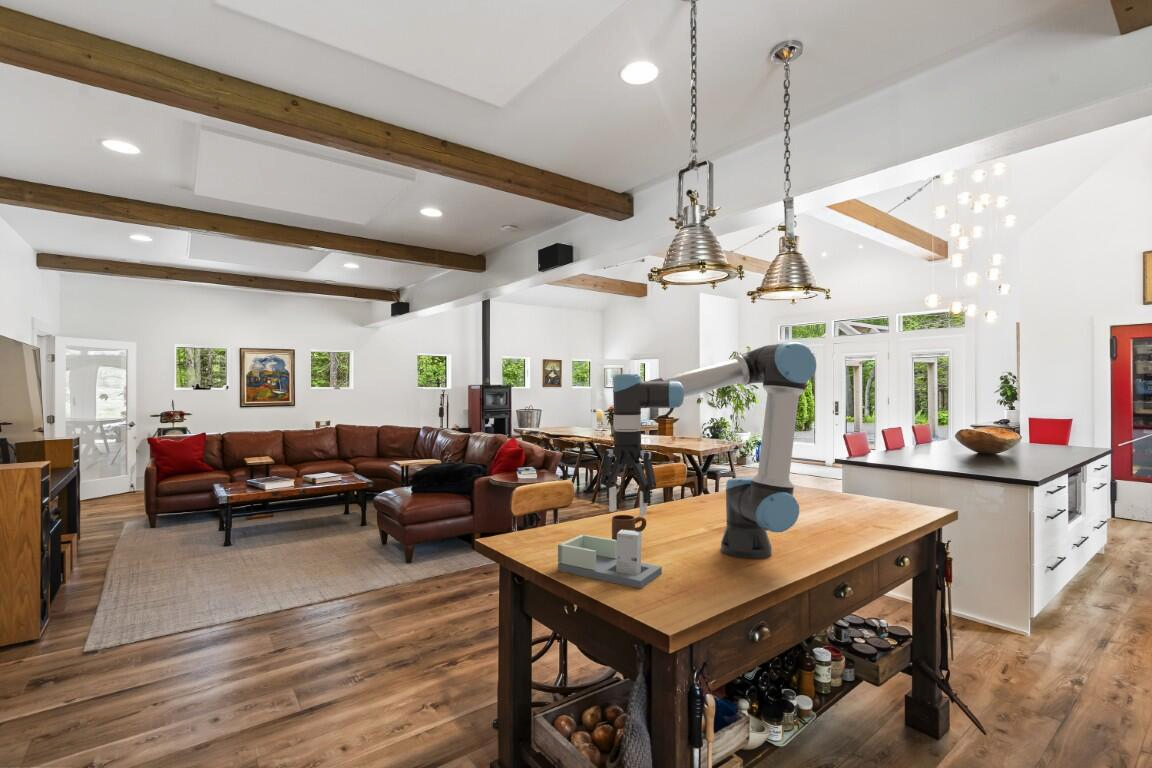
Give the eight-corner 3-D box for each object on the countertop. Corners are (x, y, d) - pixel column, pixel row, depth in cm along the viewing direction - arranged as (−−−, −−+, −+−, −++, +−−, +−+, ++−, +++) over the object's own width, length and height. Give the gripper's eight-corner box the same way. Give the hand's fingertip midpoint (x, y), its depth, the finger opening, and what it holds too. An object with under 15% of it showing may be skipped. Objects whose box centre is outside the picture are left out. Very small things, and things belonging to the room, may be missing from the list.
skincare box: (615, 577, 148) (615, 533, 148) (620, 572, 152) (620, 529, 152) (637, 580, 146) (637, 535, 146) (642, 575, 150) (641, 531, 150)
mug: (641, 540, 183) (641, 512, 183) (651, 546, 176) (651, 517, 176) (608, 544, 180) (608, 515, 180) (617, 550, 172) (617, 520, 172)
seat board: (661, 573, 151) (661, 566, 151) (640, 588, 140) (640, 580, 140) (582, 558, 165) (582, 551, 165) (557, 570, 154) (557, 563, 154)
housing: (617, 557, 158) (616, 540, 158) (594, 569, 147) (594, 551, 147) (582, 550, 165) (582, 534, 165) (557, 562, 154) (557, 544, 154)
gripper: (669, 430, 147) (669, 514, 146) (600, 427, 158) (601, 505, 158) (657, 432, 140) (658, 520, 140) (586, 429, 152) (587, 510, 152)
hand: (627, 512), depth 149 cm, fingers open, 9 cm apart
